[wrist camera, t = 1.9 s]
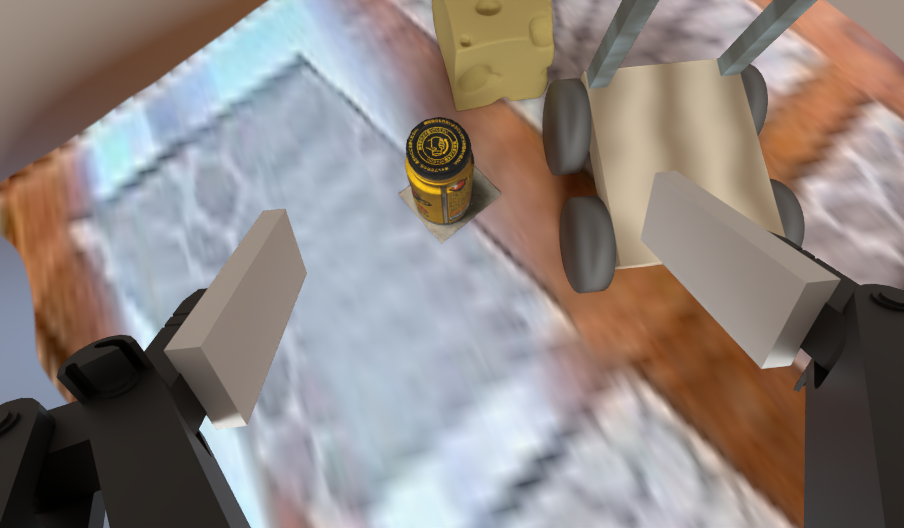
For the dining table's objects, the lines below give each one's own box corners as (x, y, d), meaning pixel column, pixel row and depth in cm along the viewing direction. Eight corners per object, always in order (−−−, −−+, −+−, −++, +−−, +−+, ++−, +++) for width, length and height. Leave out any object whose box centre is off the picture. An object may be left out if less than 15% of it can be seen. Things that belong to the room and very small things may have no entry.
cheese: (542, 99, 46) (567, 32, 36) (450, 116, 45) (450, 54, 36) (521, 22, 48) (539, -61, 38) (433, 38, 47) (427, -42, 37)
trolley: (694, 99, 46) (928, -137, 23) (739, 280, 41) (1075, 206, 19) (538, 114, 45) (622, -110, 23) (568, 298, 41) (705, 245, 19)
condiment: (398, 194, 44) (377, 139, 32) (457, 148, 45) (458, 78, 33) (441, 244, 42) (437, 206, 31) (501, 195, 43) (518, 140, 32)
